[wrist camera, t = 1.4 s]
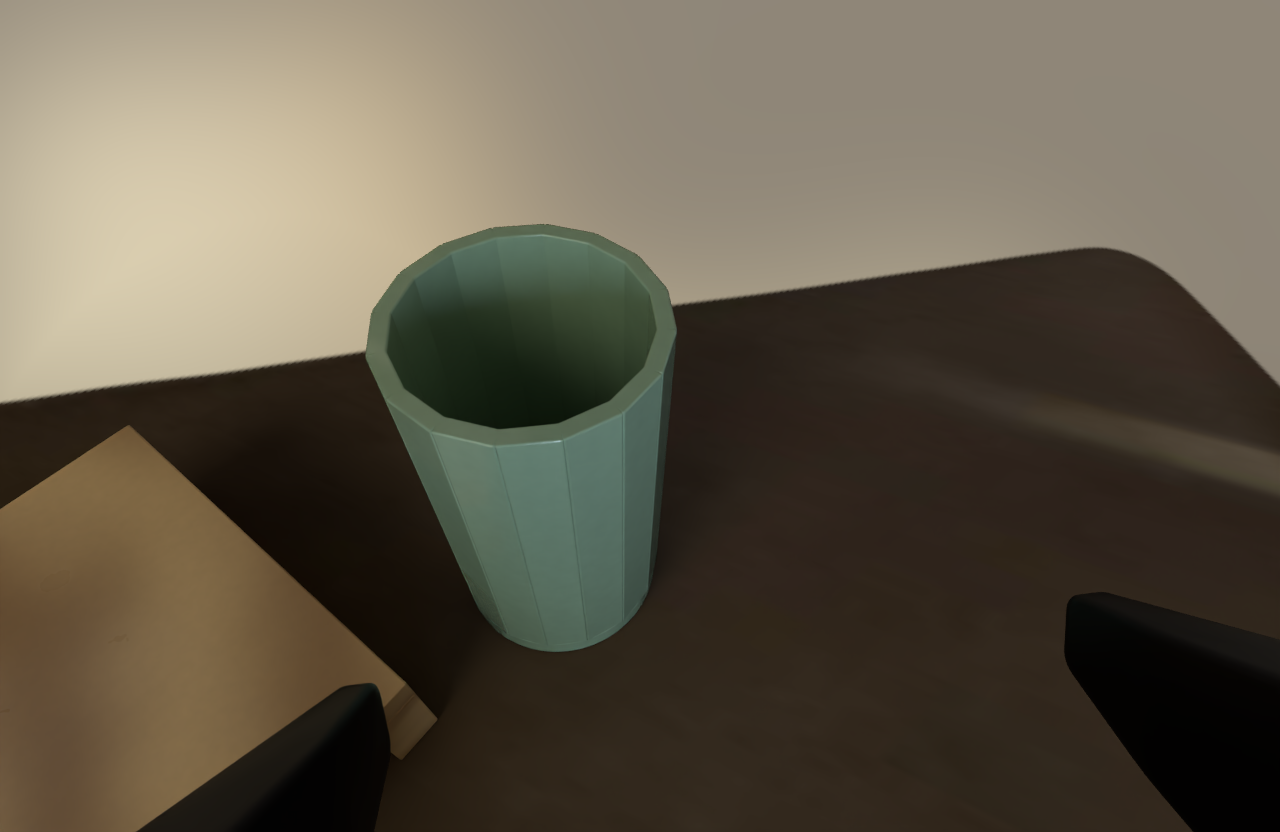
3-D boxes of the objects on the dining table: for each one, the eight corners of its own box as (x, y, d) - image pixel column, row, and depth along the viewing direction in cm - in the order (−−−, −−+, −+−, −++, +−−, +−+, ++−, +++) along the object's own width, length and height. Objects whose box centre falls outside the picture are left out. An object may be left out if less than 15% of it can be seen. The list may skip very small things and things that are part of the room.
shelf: (-46, 1266, 15) (-327, 1407, 10) (-263, 815, 20) (-516, 781, 15) (438, 719, 22) (391, 665, 17) (187, 484, 27) (101, 396, 22)
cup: (572, 694, 22) (531, 506, 12) (429, 575, 25) (301, 338, 15) (690, 545, 25) (732, 302, 16) (554, 452, 28) (517, 191, 18)
